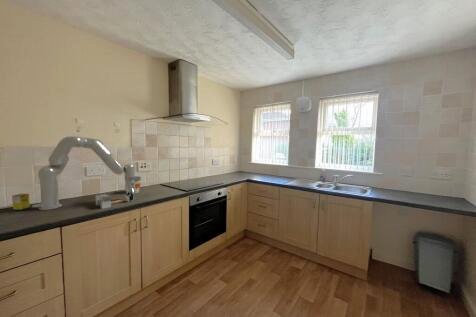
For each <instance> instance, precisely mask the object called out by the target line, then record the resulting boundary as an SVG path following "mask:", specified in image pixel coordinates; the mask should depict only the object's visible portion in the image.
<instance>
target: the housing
mask: <svg viewBox="0 0 476 317" xmlns="http://www.w3.org/2000/svg"><path fill="white" fill-rule="evenodd" d="M111 201H112V197H111V196H110V195H108V194H106V193H99V194H95V206H97V207H98V206H99V207H100V209H107V208H111V207H112V204H111Z"/></svg>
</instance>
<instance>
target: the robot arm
mask: <svg viewBox="0 0 476 317" xmlns="http://www.w3.org/2000/svg"><path fill="white" fill-rule="evenodd" d="M73 148H83V149H90V150H92V152H93V153H95V154H96V155H97V156H98V157H99V158H100V160H102V162H103V163H104V165H106V167H107V168H108V169H109V170H110V171H112V173H114V174H115V175H121V174H123V173H124V190H125V193H126V196H128V195H130V196H129V200H133V201H134V200H135V198H134V197H135V193H134V192H135V191H136V189H135V181H134V180H135V177H136V175H135V170H136V169H135V165H134V164H130V163H129V164H122V163H121V164H120V163H118V161H117V160H116V159H115V158H114V156H113V153H112V152H111V151H110V150H109V149H108V148H107V146H105V145H104V142H103V141H102V140H101V139H98V138H96V139H95V138H90V137H85V136H84V137H83V136H75V135H73V136H71V135H70V136H69V135H68V136H65V137H63V138H61V140H60V141H59V142H58V143H57V145H56V146H55V148H54V150H53V151H52V153H51V154H50V155H49V157H48V163H49V164H48V165H44V166H43V167H41V168H39V170H38V172H37V173H38V174H37V175H38V180H39V187H40V202H39V203H37V204H36V203H35V204H32V207H31V208H38V210H40V211H49V210H54V209H58V208H60V207H62V206H63V204H62V203H60V201H59V200H60V198H59V197H60V196H59V183H58V182H59V181H58V178H57V177H59V175H61V174H62V173H63V170H64V169H65V168H66V166H67V165H68V163H69V160H70V157H69V153H71V150H72V149H73ZM131 191H132V192H131Z"/></svg>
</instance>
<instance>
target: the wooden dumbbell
mask: <svg viewBox="0 0 476 317" xmlns="http://www.w3.org/2000/svg"><path fill="white" fill-rule="evenodd" d="M129 196H130V195H128V196H127V195H125V198H123V199H122V198H121V199H118V200H111V205H113V204H114V205H115V204H119V203H123V202H130V201H131V202H132V201H134V200H129ZM134 199H135V196H134Z"/></svg>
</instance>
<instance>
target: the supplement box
mask: <svg viewBox="0 0 476 317" xmlns="http://www.w3.org/2000/svg"><path fill="white" fill-rule="evenodd" d="M11 199H12V201H11V202H12V211H25V210H27V209H30V194H29V193H18V194H14V195H13V194H12V196H11Z"/></svg>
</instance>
